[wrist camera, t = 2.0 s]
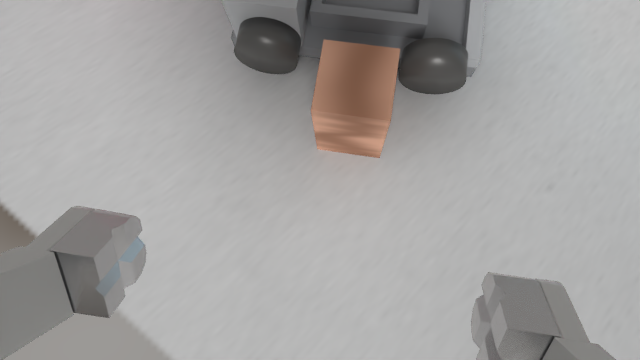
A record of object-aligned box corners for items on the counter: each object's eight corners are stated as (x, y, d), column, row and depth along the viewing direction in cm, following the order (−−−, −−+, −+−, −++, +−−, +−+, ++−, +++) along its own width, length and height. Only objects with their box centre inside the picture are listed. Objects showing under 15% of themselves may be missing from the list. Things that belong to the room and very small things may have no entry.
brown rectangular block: (317, 149, 35) (310, 110, 27) (327, 92, 36) (323, 39, 28) (379, 158, 35) (390, 121, 27) (387, 100, 36) (400, 48, 28)
